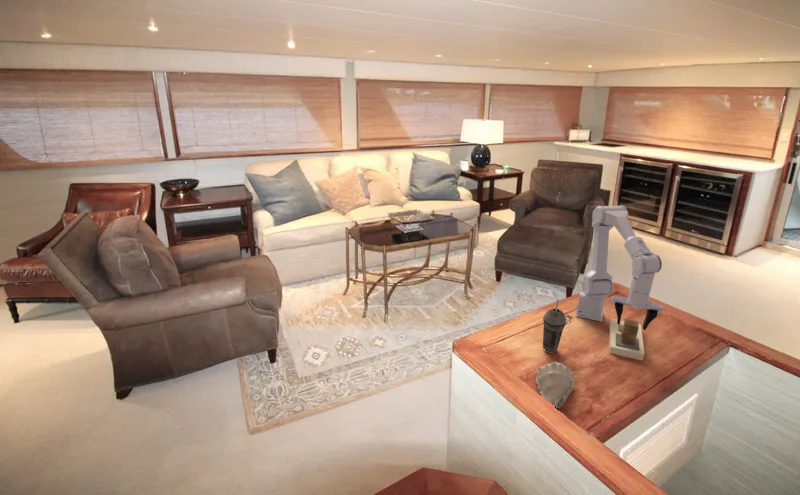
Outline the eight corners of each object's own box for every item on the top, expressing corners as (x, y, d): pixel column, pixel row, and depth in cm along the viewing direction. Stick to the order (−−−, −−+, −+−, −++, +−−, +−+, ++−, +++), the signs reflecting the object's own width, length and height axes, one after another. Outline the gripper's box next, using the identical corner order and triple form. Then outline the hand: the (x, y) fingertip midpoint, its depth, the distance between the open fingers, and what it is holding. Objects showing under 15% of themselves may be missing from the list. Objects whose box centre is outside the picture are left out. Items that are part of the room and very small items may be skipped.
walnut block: (620, 342, 141) (625, 324, 139) (620, 336, 145) (624, 318, 142) (634, 345, 140) (638, 327, 137) (633, 339, 143) (638, 321, 141)
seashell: (547, 412, 116) (552, 383, 112) (528, 378, 129) (532, 351, 125) (589, 409, 117) (595, 380, 113) (566, 376, 130) (571, 350, 126)
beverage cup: (561, 346, 144) (571, 295, 137) (559, 358, 138) (569, 305, 131) (540, 341, 147) (548, 290, 140) (537, 352, 141) (545, 300, 133)
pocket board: (609, 352, 141) (610, 346, 140) (609, 323, 158) (611, 318, 157) (642, 360, 137) (644, 354, 136) (639, 330, 154) (641, 324, 153)
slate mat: (615, 345, 141) (616, 343, 141) (615, 334, 147) (615, 333, 147) (639, 350, 138) (639, 349, 138) (638, 339, 144) (638, 338, 144)
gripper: (615, 290, 134) (607, 326, 139) (667, 300, 129) (656, 337, 134) (615, 281, 140) (607, 316, 145) (665, 290, 135) (655, 326, 140)
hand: (631, 325), depth 140 cm, fingers open, 7 cm apart
